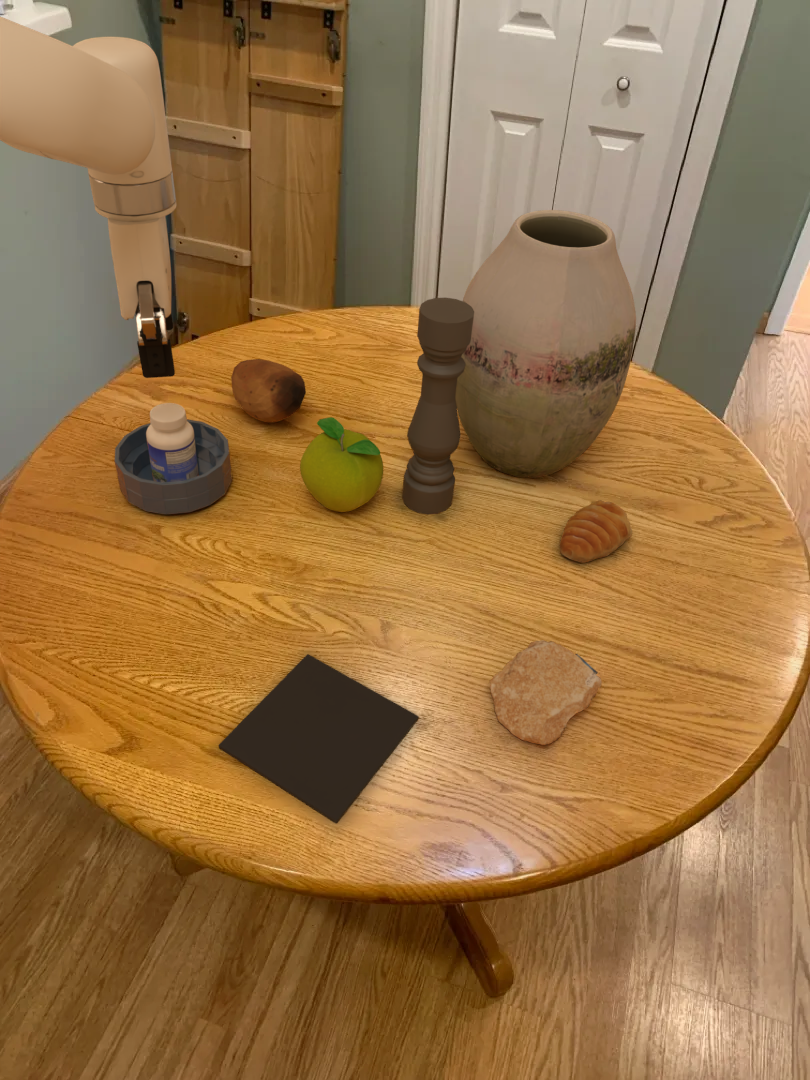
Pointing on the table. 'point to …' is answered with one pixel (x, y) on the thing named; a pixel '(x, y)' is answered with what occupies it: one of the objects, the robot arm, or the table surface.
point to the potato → (267, 389)
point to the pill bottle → (171, 444)
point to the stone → (542, 691)
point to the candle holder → (437, 404)
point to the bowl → (174, 494)
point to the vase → (545, 343)
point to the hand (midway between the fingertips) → (159, 351)
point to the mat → (320, 736)
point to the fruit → (341, 467)
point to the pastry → (595, 532)
